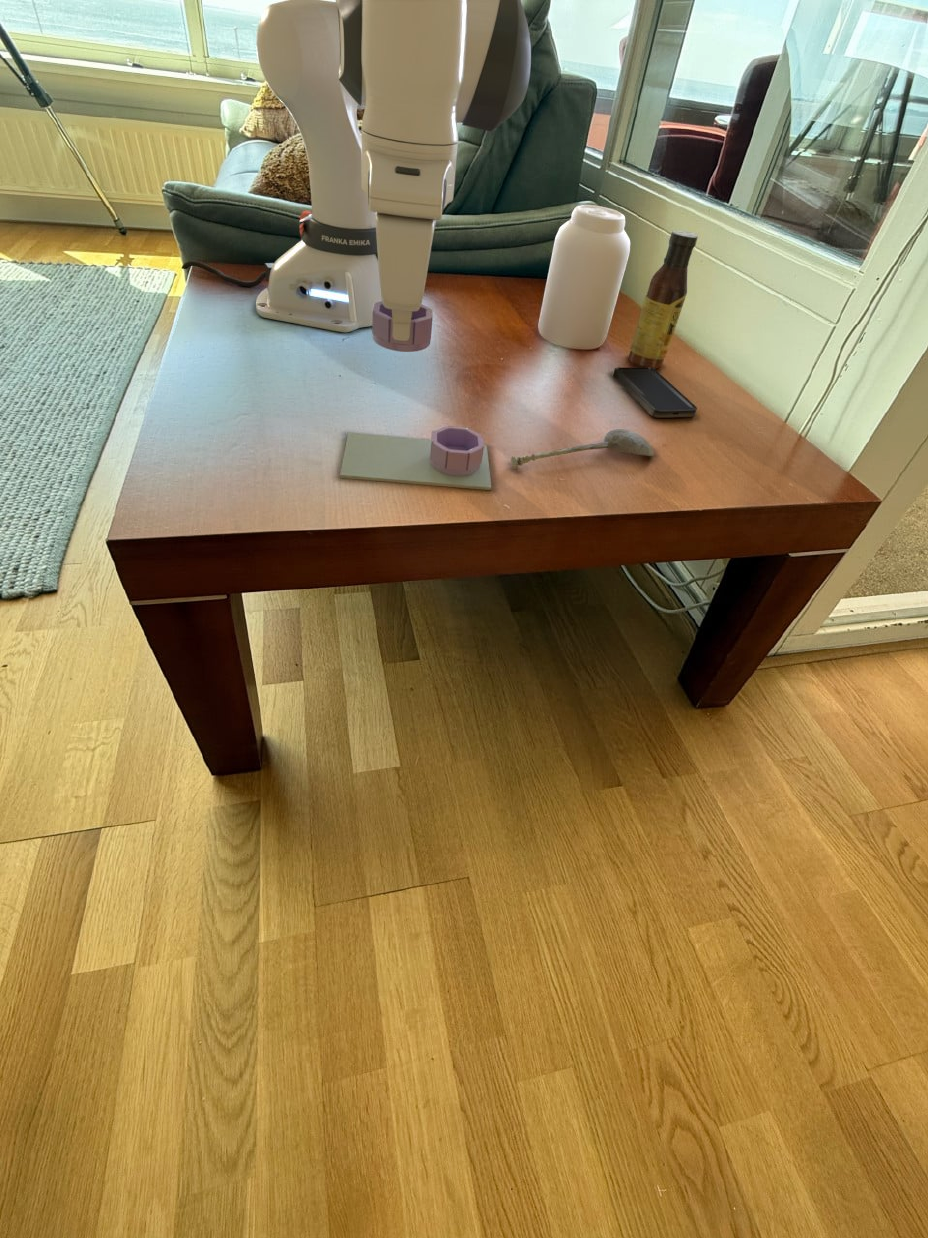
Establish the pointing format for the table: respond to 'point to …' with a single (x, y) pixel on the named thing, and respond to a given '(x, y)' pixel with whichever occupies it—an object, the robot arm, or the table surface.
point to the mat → (403, 463)
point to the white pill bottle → (584, 278)
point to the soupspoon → (600, 446)
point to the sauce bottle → (663, 303)
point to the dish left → (418, 329)
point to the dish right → (456, 450)
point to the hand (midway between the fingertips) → (402, 324)
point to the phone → (654, 392)
